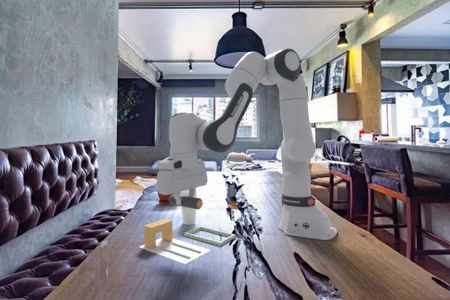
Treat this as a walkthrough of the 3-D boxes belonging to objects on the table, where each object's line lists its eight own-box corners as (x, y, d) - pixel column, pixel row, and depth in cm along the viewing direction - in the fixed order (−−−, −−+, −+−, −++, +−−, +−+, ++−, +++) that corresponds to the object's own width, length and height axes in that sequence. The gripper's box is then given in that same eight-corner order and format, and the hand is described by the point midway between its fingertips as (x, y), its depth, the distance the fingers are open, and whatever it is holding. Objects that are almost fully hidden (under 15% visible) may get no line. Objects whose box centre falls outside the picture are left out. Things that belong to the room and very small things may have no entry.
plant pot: (178, 206, 149) (177, 185, 149) (154, 206, 150) (154, 185, 149) (182, 200, 162) (182, 181, 162) (160, 201, 163) (160, 181, 162)
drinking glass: (182, 228, 112) (181, 193, 112) (180, 223, 119) (180, 190, 118) (198, 226, 114) (197, 192, 113) (195, 222, 121) (195, 189, 120)
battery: (203, 208, 86) (203, 197, 86) (196, 210, 83) (196, 199, 83) (174, 203, 93) (174, 193, 93) (167, 205, 90) (167, 195, 90)
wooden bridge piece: (172, 239, 96) (172, 220, 96) (152, 248, 89) (151, 227, 88) (165, 237, 98) (164, 218, 98) (144, 245, 91) (143, 225, 91)
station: (211, 253, 87) (211, 248, 87) (185, 268, 78) (185, 262, 78) (165, 239, 100) (165, 234, 100) (138, 250, 91) (138, 245, 91)
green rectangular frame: (235, 240, 98) (235, 234, 98) (220, 249, 91) (220, 242, 91) (200, 231, 108) (200, 226, 108) (184, 238, 101) (184, 232, 101)
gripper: (197, 158, 98) (198, 196, 98) (152, 163, 81) (154, 208, 82) (211, 159, 94) (212, 198, 95) (167, 164, 77) (168, 211, 78)
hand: (185, 203), depth 88 cm, fingers closed on battery, 3 cm apart
